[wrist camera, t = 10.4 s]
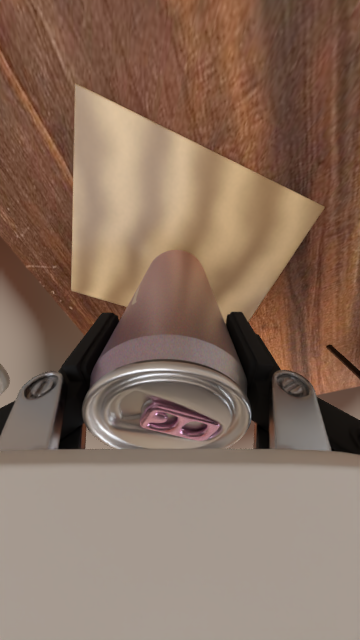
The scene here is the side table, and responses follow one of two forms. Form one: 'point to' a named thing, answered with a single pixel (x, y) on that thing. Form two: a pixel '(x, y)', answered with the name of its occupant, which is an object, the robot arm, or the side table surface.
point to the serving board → (173, 210)
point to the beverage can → (169, 367)
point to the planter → (344, 361)
